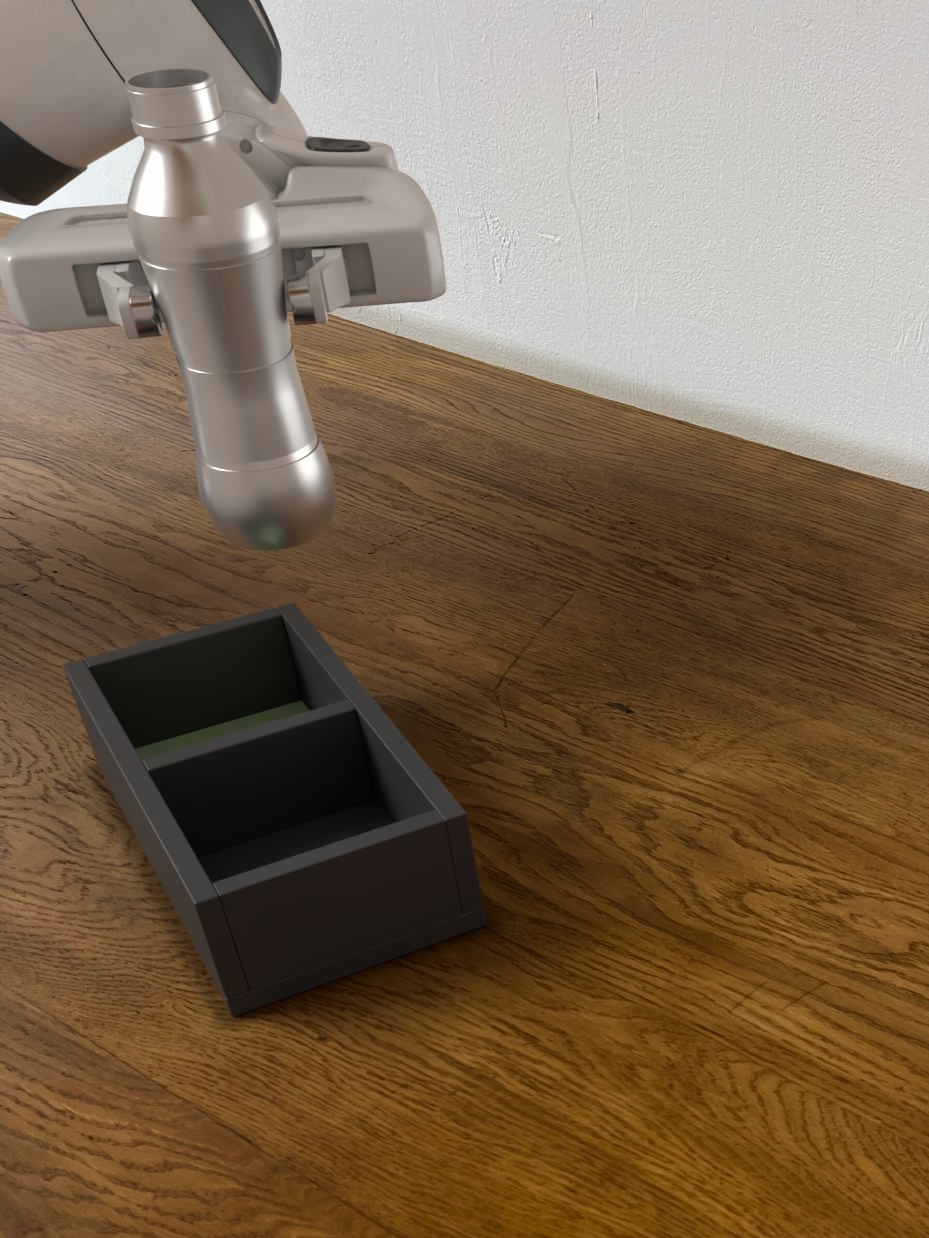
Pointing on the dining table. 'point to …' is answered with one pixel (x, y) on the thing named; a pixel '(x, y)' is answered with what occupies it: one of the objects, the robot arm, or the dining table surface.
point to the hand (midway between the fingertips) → (225, 313)
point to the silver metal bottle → (225, 316)
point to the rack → (277, 804)
